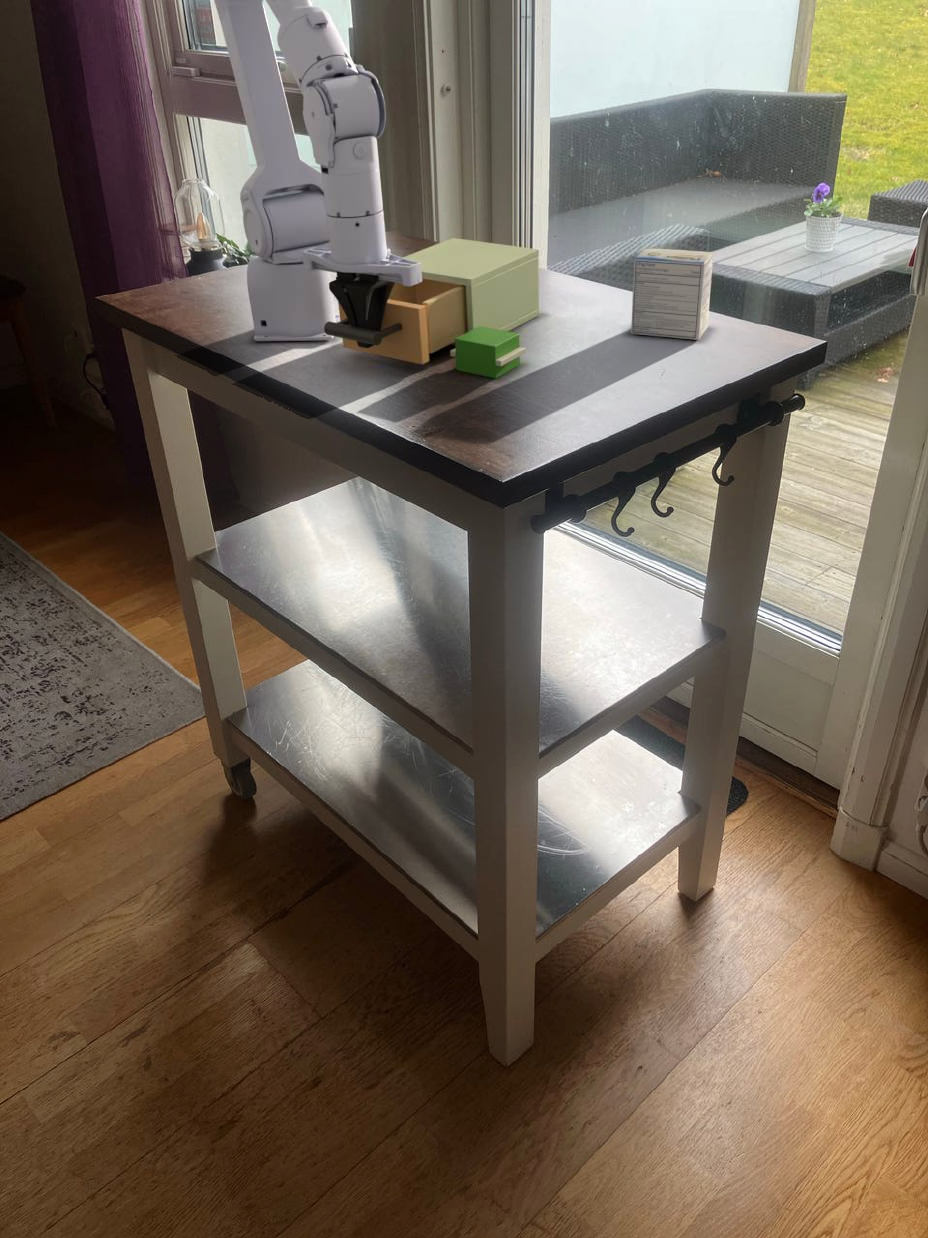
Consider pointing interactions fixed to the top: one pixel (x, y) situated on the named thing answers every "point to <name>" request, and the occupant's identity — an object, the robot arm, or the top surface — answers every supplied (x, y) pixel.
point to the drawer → (411, 322)
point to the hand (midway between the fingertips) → (369, 344)
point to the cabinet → (487, 279)
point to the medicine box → (671, 293)
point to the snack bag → (487, 352)
